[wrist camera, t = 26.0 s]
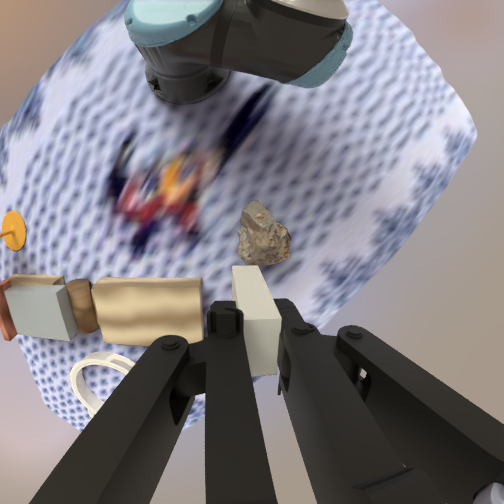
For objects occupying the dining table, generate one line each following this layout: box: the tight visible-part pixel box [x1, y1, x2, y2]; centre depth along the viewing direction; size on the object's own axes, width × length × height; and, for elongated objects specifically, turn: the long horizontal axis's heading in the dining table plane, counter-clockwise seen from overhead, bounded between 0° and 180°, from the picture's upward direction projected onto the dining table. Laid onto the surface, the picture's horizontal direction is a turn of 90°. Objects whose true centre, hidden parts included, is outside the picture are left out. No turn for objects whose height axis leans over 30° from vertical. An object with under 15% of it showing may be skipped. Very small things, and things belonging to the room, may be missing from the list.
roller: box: [66, 279, 99, 334], centre depth 46 cm, size 10×5×5 cm
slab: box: [4, 285, 78, 341], centre depth 41 cm, size 10×16×4 cm, turn 91°
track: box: [0, 274, 204, 346], centre depth 43 cm, size 12×46×10 cm, turn 89°
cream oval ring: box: [70, 351, 135, 418], centre depth 52 cm, size 29×22×5 cm
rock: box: [237, 200, 291, 266], centre depth 45 cm, size 9×12×10 cm
